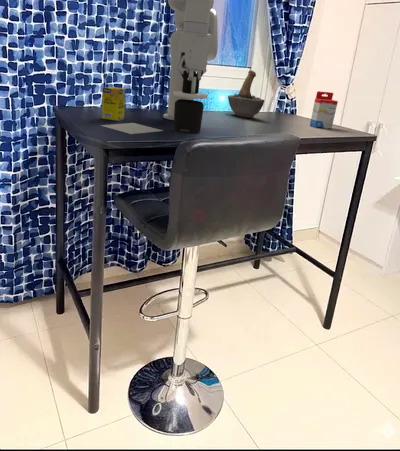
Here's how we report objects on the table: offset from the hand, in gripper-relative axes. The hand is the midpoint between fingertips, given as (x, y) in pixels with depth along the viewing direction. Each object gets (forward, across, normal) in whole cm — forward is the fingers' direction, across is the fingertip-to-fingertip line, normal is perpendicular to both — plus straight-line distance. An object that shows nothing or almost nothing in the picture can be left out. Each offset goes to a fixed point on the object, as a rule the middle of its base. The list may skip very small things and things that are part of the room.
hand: (190, 92), depth 133 cm
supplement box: (+13, +10, -25) cm, 30 cm away
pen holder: (+13, 0, 0) cm, 13 cm away
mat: (+13, +15, -10) cm, 22 cm away
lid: (+1, 0, 0) cm, 1 cm away
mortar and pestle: (+13, -57, -15) cm, 60 cm away
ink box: (+13, -72, +16) cm, 75 cm away
